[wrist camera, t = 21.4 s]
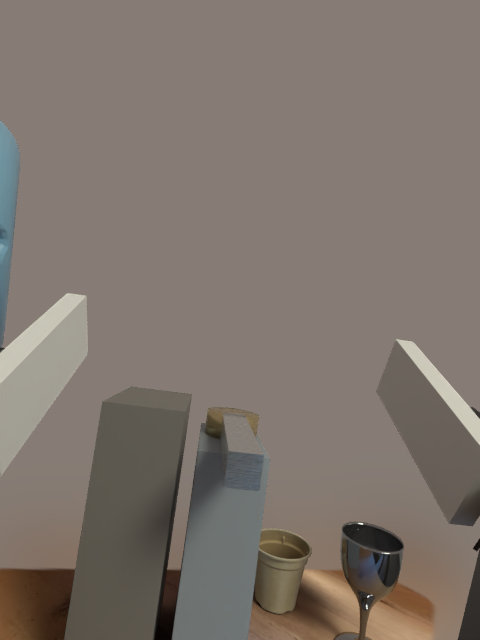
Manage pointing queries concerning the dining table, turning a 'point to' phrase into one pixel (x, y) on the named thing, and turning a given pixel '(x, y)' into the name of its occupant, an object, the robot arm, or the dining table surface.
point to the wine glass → (369, 567)
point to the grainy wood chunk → (237, 446)
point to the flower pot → (280, 569)
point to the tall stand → (129, 516)
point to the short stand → (218, 551)
